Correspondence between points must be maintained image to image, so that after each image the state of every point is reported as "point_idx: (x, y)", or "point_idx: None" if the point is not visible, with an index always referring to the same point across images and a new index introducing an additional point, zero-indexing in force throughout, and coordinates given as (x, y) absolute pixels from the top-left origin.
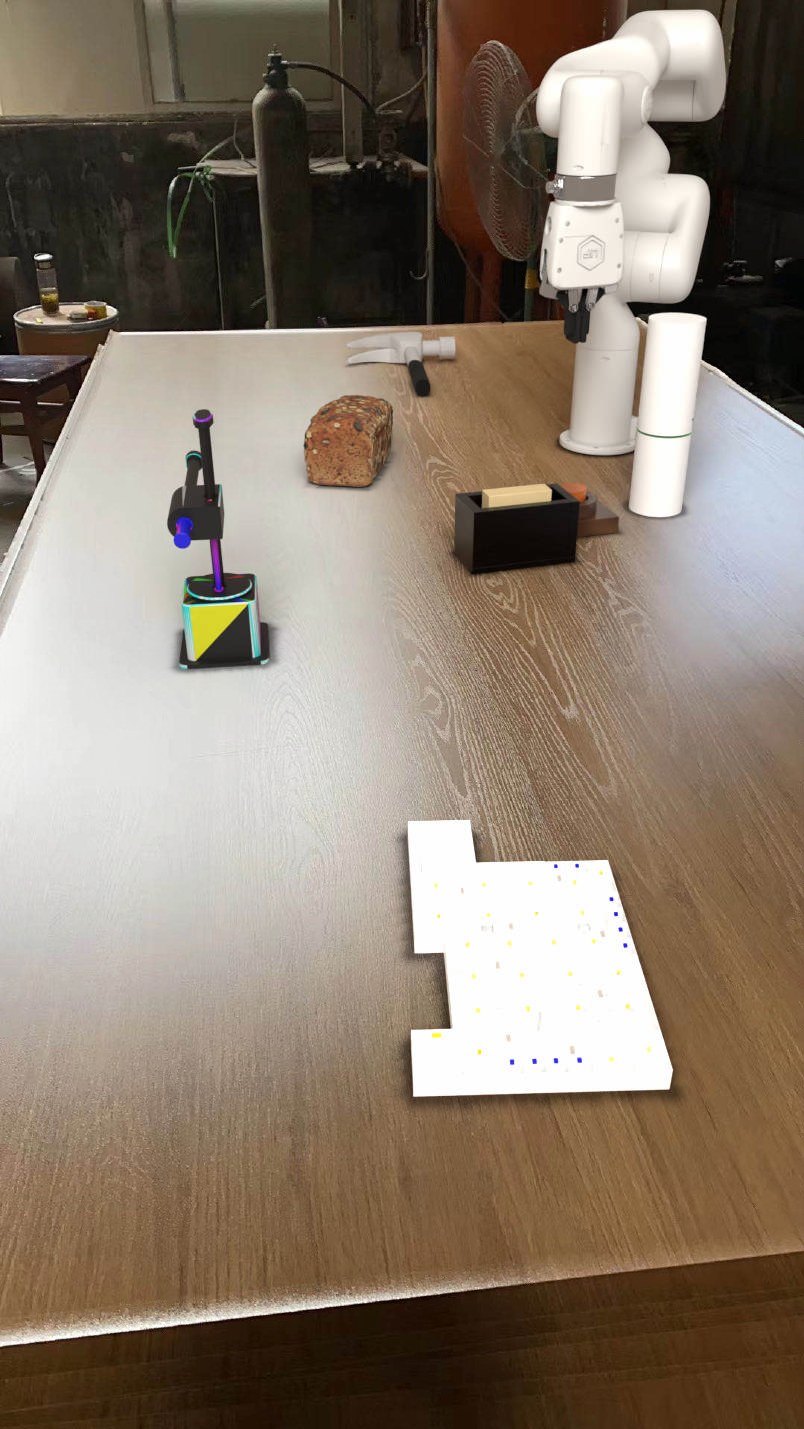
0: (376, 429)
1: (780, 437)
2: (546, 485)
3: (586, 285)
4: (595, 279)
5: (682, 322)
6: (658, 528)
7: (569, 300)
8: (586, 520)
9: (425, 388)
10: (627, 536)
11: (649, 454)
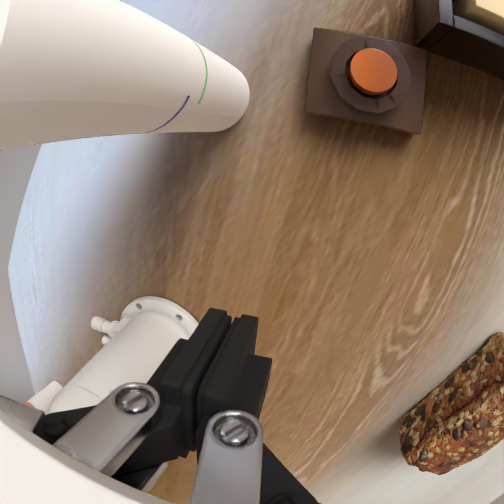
0: (495, 388)
1: (16, 260)
2: (459, 24)
3: (120, 500)
4: (29, 490)
5: None
6: (252, 30)
7: (257, 473)
8: (367, 35)
9: None
10: (308, 21)
11: (213, 57)
